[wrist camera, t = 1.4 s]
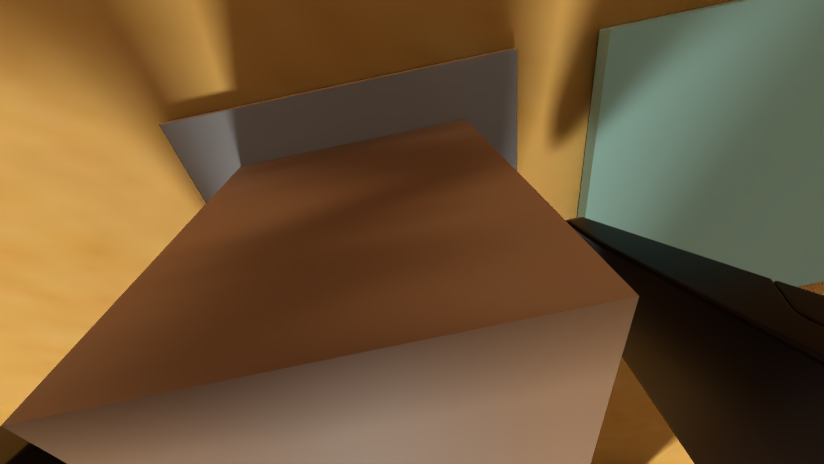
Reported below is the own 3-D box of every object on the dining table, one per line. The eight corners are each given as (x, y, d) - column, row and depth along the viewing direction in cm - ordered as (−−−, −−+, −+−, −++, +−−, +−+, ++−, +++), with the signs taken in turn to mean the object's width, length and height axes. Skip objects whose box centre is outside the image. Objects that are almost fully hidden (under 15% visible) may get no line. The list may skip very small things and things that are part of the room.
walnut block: (465, 118, 8) (639, 295, 3) (479, 287, 11) (574, 518, 6) (240, 166, 8) (2, 425, 3) (317, 320, 11) (269, 579, 6)
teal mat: (1046, -66, 7) (1079, -70, 7) (817, 273, 13) (829, 280, 12) (599, 29, 7) (610, 29, 7) (564, 325, 13) (569, 333, 12)
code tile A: (512, 47, 7) (517, 48, 7) (513, 299, 12) (517, 305, 11) (166, 121, 7) (158, 125, 7) (296, 343, 12) (294, 351, 11)
